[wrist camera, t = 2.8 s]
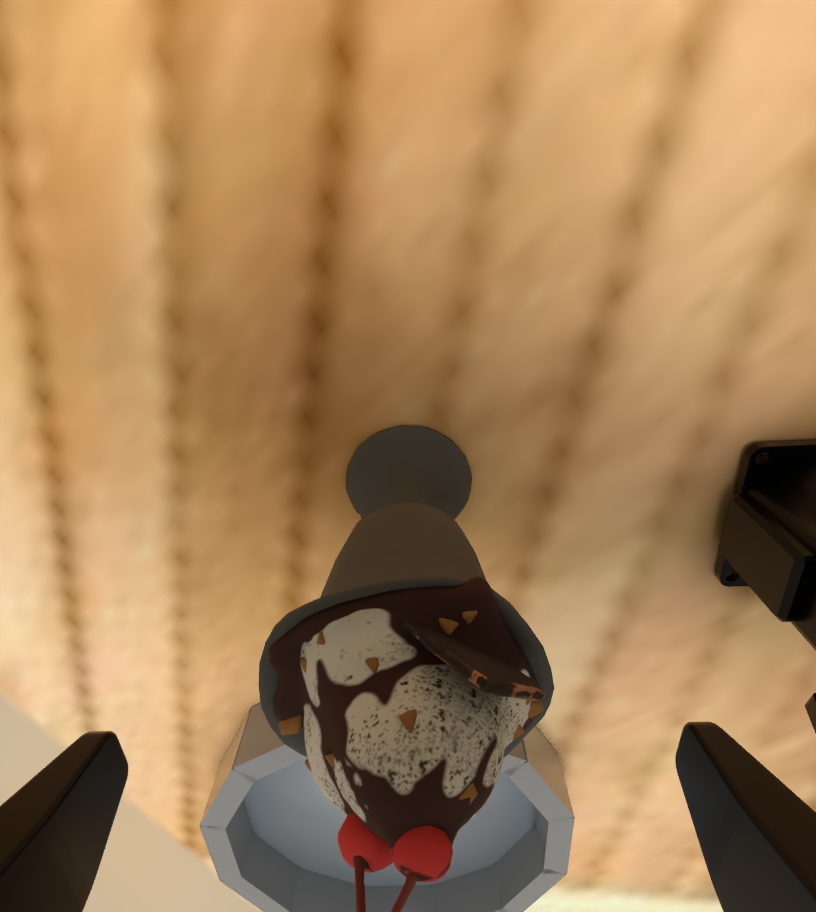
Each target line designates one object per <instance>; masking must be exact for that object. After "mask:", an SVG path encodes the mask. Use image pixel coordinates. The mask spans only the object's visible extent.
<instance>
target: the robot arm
mask: <svg viewBox="0 0 816 912" xmlns="http://www.w3.org/2000/svg"><path fill="white" fill-rule="evenodd" d="M761 453H764V455H763V457H762V458H760V459H759V460H756V459H757V457H758V456H759V455H760V454H761ZM719 551H720V553H719V558H718V562H717V566H716V570H715V576H716V577H717V579H718V580H719V581H720V582H721V584H723V585H724V586H750V587H751V589H752V590H753V591H754V592H755V593H756V594H757V596H758V597H759V598H760V599H761V600H762V601H763V603H764V604H765V605H766V606H767V607H768V608H769V609H770V611H771V612H772V613H773V614H774V615H775V616H776V617H777V618H778V619H779V620H780V621H782V622H791V623H792V624H793V625H794V626H795V627H796V629H797V630H798V631H799V632H800V633H801V634H802V635H803V636H804V638H805V639H806V640H807V641H808V642H809V643H810V644H811V646H812V647H813V648H814V649H815V650H816V440H798V441H775V442H759V443H754V444H753V445H751V446H749V447H748V448H747V449H746V451H745V453H744V455H743V459H742V464H741V468H740V472H739V476H738V480H737V484H736V488H735V492H734V496H733V498H732V499H731V501H730V504H729V508H728V513H727V517H726V521H725V525H724V529H723V533H722V537H721V541H720V545H719ZM731 572H732V573H731ZM729 573H731V574H730V575H728V574H729ZM805 708H806V710H807V713H808V715H809V718H810V720H811V723H812V725H813V728H814V730H815V733H816V693H814V694H813V695H812V696H811V698H810V699H809V700H808V701H807V703H806V704H805ZM676 769H677V773H678V776H679V779H680V783H681V786H682V789H683V792H684V795H685V798H686V802H687V805H688V808H689V811H690V814H691V818H692V821H693V824H694V827H695V830H696V834H697V837H698V840H699V843H700V846H701V850H702V853H703V856H704V859H705V862H706V865H707V868H708V871H709V874H710V877H711V880H712V883H713V886H714V889H715V891H716V894H717V896H718V899H719V901H720V904H721V906H722V909H723V911H724V912H816V812H815V811H813V810H812V809H811V808H810V807H809V806H808V805H807V804H806V803H804V802H803V801H802V800H801V799H800V798H799V797H798V796H797V795H796V794H794V793H793V792H792V791H791V790H790V789H789V788H788V787H787V786H785V785H784V784H783V783H782V782H781V781H780V780H779V779H778V778H776V777H775V776H774V775H773V774H772V773H771V772H770V771H769V770H767V769H766V768H765V767H764V766H763V765H762V764H761V763H760V762H758V761H757V760H756V759H755V758H754V757H753V756H752V755H751V754H750V753H748V752H747V751H746V750H745V749H744V748H743V747H742V746H741V745H739V744H738V743H737V742H736V741H735V740H734V739H733V738H732V737H730V736H729V735H728V734H727V733H726V732H725V731H724V730H723V729H721V728H720V727H719V726H718V725H716V724H714V723H712V722H688V723H687V724H685V725H684V728H683V731H682V734H681V738H680V742H679V745H678V749H677V752H676ZM127 776H128V763H127V760H126V757H125V755H124V752H123V750H122V748H121V745H120V743H119V740H118V738H117V736H116V734H115V733H113V732H112V731H92V732H88V733H85V734H84V735H82V736H81V737H79V738H78V739H77V740H76V741H75V742H74V743H73V744H71V745H70V746H69V747H68V748H67V749H66V750H64V751H63V752H62V753H61V754H60V755H59V756H58V757H56V758H55V759H54V760H53V761H52V762H51V763H49V764H48V765H47V766H46V767H45V768H44V769H43V770H41V771H40V772H39V773H38V774H37V775H36V776H34V777H33V778H32V779H31V780H30V781H29V782H28V783H26V784H25V785H24V786H23V787H22V788H21V789H20V790H18V791H17V792H16V793H15V794H14V795H13V796H11V797H10V798H9V799H8V800H7V801H6V802H4V803H3V804H2V805H1V806H0V912H82V911H83V909H84V906H85V904H86V901H87V899H88V896H89V894H90V891H91V889H92V886H93V883H94V880H95V877H96V874H97V871H98V868H99V865H100V862H101V859H102V856H103V852H104V849H105V846H106V843H107V840H108V837H109V833H110V830H111V827H112V824H113V821H114V818H115V815H116V812H117V809H118V805H119V802H120V799H121V796H122V793H123V790H124V787H125V784H126V780H127Z"/></svg>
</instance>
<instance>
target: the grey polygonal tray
mask: <svg viewBox="0 0 816 912" xmlns="http://www.w3.org/2000/svg"><path fill="white" fill-rule="evenodd" d="M307 758H308V757H306V756H304V755H301V754H299V753H298V752H296V751H295V750H293V749H291V748H290V747H288V746H287V745H285V744H283V742H282V741H281V740H280V739H279V737H278V736H277V735H276V734H275V732H274V731H273V730H272V729H271V727H270V725H269V723H268V721H267V719H266V717H265V714H264V712H263V710H262V708H261V703H259V704H257V705H255V706H253V707H252V709H250V710H249V712H248V714H247V716H246V718H245V720H244V721H243V723H242V725H241V727H240V729H239V731H238V732H237V734H236V736H235V738H234V740H233V741H232V743H231V745H230V747H229V749H228V751H227V752H226V754H225V756H224V758H223V760H222V761H221V764H220V767H219V770H218V773H217V776H216V779H215V782H214V785H213V788H212V790H211V793H210V796H209V799H208V802H207V805H206V808H205V811H204V814H203V817H202V820H201V823H200V829H201V831H202V834H203V837H204V840H205V842H206V845H207V848H208V850H209V853H210V856H211V858H212V861H213V864H214V866H215V869H216V872H217V875H218V877H219V880H221V882H222V883H224V884H225V885H226V886H228V887H229V888H231V889H232V890H234V891H235V892H236V893H238V894H239V895H241V896H242V897H244V898H245V899H246V900H248V901H249V902H251V903H252V904H254V905H255V906H256V907H258V908H259V909H261V910H262V911H264V912H356V886H355V869H354V868H353V867H351V866H350V865H349V864H348V863H347V862H346V861H345V860H344V859H343V857H342V854H341V851H340V848H339V844H338V832H339V830H340V828H341V826H342V824H343V823H344V821H345V819H346V817H347V815H346V814H345V813H343V812H342V811H341V810H339V809H338V808H337V807H336V806H335V805H334V804H333V803H332V802H331V801H330V800H329V799H328V798H327V797H326V796H324V794H323V793H322V791H321V789H320V788H319V786H318V784H317V782H316V780H315V778H314V776H313V773H312V772H311V771H310V770H309V769H308V768H307V766H306V764H305V761H306V760H307ZM573 825H574V814H573V810H572V807H571V803H570V799H569V795H568V791H567V787H566V783H565V780H564V776H563V772H562V768H561V764H560V760H559V756H558V753H557V752H556V751H555V749H554V748H553V747H552V746H551V744H550V743H549V742H548V741H547V739H546V738H545V737H544V736H543V734H542V733H541V732H540V731H539V729H538V728H537V727H536V726H535V727H534V728H533V729H532V730H531V731H530V732H529V733H528V734H527V735H526V736H525V737H524V738H523V740H522V741H521V742H520V743H519V744H518V745H517V746H516V747H515V748H514V749H513V750H512V751H511V752H510V753H509V754H508V755H507V756H506V757H504V758H503V762H502V767H501V771H500V774H499V776H498V779H497V782H496V784H495V787H494V789H493V792H492V795H491V797H490V799H489V801H488V802H487V803H486V804H485V806H484V807H483V808H482V809H481V810H480V812H479V813H478V814H476V815H475V816H474V817H473V818H472V819H471V820H470V821H469V822H467V823H466V824H465V825H464V826H462V827H461V828H460V829H459V831H458V832H457V835H456V837H455V839H454V841H453V845H452V849H453V855H452V860H451V865H450V868H449V870H448V871H447V873H446V874H445V876H443V877H442V878H440V879H439V880H437V881H433V882H416V884H415V886H414V888H413V890H412V892H411V893H410V895H409V897H408V899H407V900H406V902H405V904H404V906H403V908H402V910H401V912H524V911H525V910H526V909H527V908H528V907H529V906H531V905H532V904H533V903H534V902H535V901H536V900H538V899H539V898H540V897H541V896H542V895H543V894H544V893H546V892H547V891H548V890H549V889H550V888H551V887H553V886H554V885H555V884H556V883H557V882H558V881H559V880H561V879H562V878H563V877H564V876H565V875H566V873H567V869H568V862H569V854H570V847H571V840H572V832H573ZM406 878H407V877H405V876H404V875H403V874H402V873H400V872H399V871H398V870H397V869H396V867H395V865H394V862H393V863H392V864H391V865H389V866H387V867H386V868H384V869H382V870H379V871H376V872H372V873H366V872H364V884H365V901H366V912H391V911H392V909H393V906H394V904H395V902H396V900H397V898H398V896H399V894H400V892H401V890H402V888H403V886H404V884H405V881H406Z"/></svg>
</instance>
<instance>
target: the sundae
mask: <svg viewBox="0 0 816 912" xmlns="http://www.w3.org/2000/svg"><path fill="white" fill-rule="evenodd" d="M471 480H472V477H471V472H470V468H469V465H468V462H467V459H466V457H465V455H464V454H463V453H462V451H461V450H460V449H459V447H458V446H457V445H456V444H455V443H454V442H453V441H452V440H451V439H449V438H447V437H446V436H444V435H442V434H441V433H439V432H436V431H434V430H431V429H429V428H425V427H418V426H398V427H393V428H389V429H386V430H383V431H380V432H378V433H376V434H375V435H373V436H372V437H370V438H369V439H367V440H366V441H365V442H364V443H363V444H361V445H360V446H359V447H358V449H357V450H356V452H355V453H354V455H353V457H352V459H351V461H350V463H349V465H348V468H347V476H346V489H347V492H348V495H349V498H350V500H351V502H352V504H353V507H354V509H355V510H356V511H357V512H358V513H359V514H360V515H361V517H362V519H361V520H360V521H359V522H358V523H357V524H356V526H355V527H354V529H353V531H352V533H351V534H350V536H349V538H348V539H347V541H346V543H345V545H344V546H343V548H342V550H341V552H340V553H339V555H338V557H337V558H336V560H335V563H334V565H333V568H332V570H331V573H330V575H329V578H328V580H327V582H326V585H325V587H324V590H323V592H322V595H321V597H320V598H319V599H316V600H314V601H312V602H309V603H307V604H305V605H303V606H301V607H299V608H297V609H295V610H293V611H291V612H289V613H288V614H287V615H286V616H285V617H284V618H283V619H281V620H280V621H279V622H278V623H277V624H276V625H275V627H274V628H273V630H272V632H271V634H270V636H269V637H268V639H267V641H266V643H265V646H264V650H263V653H262V657H261V660H260V666H259V691H260V701H261V708H262V710H263V712H264V714H265V717H266V719H267V721H268V723H269V725H270V727H271V729H272V730H273V731H274V732H275V734H276V735H277V736H278V737H279V739H280V740H281V741H282V742H283V744H285V745H287V746H288V747H290V748H291V749H293V750H295V751H296V752H298V753H299V754H301V755H304V756H306V757H308V758H307V760H306V761H305V764H306V766H307V768H308V769H309V770H310V771H311V772H312V773H313V776H314V778H315V780H316V782H317V784H318V786H319V788H320V789H321V791H322V793H323V794H324V796H326V797H327V798H328V799H329V800H330V801H331V802H332V803H333V804H334V805H335V806H336V807H337V808H338V809H339V810H341V811H342V812H343V813H345V814H346V815H347V817H346V819H345V821H344V823H343V824H342V826H341V828H340V830H339V832H338V844H339V848H340V851H341V854H342V857H343V859H344V860H345V861H346V862H347V863H348V864H349V865H350V866H351V867H353V868H354V869H355V886H356V912H366V901H365V884H364V872H366V873H372V872H376V871H379V870H382V869H384V868H386V867H387V866H389V865H391V864H392V863H393V862H394V865H395V867H396V869H397V870H398V871H399V872H400V873H402V874H403V875H404V876H405V877H407V878H406V881H405V884H404V886H403V888H402V890H401V892H400V894H399V896H398V898H397V900H396V902H395V904H394V906H393V909H392V911H391V912H401V910H402V908H403V906H404V904H405V902H406V900H407V899H408V897H409V895H410V893H411V892H412V890H413V888H414V886H415V884H416V882H433V881H437V880H439V879H440V878H442V877H443V876H445V874H446V873H447V871H448V870H449V868H450V865H451V860H452V855H453V849H452V845H453V841H454V839H455V837H456V835H457V832H458V831H459V829H460V828H461V827H462V826H464V825H465V824H466V823H467V822H469V821H470V820H471V819H472V818H473V817H474V816H475V815H476V814H478V813H479V812H480V810H481V809H482V808H483V807H484V806H485V804H486V803H487V802H488V801H489V799H490V797H491V795H492V792H493V789H494V787H495V784H496V782H497V779H498V776H499V774H500V771H501V767H502V762H503V758H504V757H506V756H507V755H508V754H509V753H510V752H511V751H512V750H513V749H514V748H515V747H516V746H517V745H518V744H519V743H520V742H521V741H522V740H523V738H524V737H525V736H526V735H527V734H528V733H529V732H530V731H531V730H532V729H533V728H534V727H535V726H536V724H537V723H538V722H539V721H540V720H541V719H542V718H543V717H544V715H545V713H546V711H547V709H548V707H549V705H550V702H551V698H552V694H553V690H554V684H553V678H552V672H551V668H550V665H549V662H548V659H547V656H546V653H545V651H544V648H543V646H542V644H541V643H540V641H539V640H538V638H537V637H536V636H535V634H534V633H533V631H532V630H531V628H530V627H529V625H528V624H527V623H526V622H525V620H524V619H523V618H522V617H521V616H520V614H519V613H518V612H517V611H516V610H515V608H514V607H513V606H512V605H511V604H510V603H509V602H508V601H507V600H505V599H504V598H503V597H502V596H500V595H499V594H498V593H497V592H495V591H494V590H493V589H491V587H490V585H489V584H488V583H487V581H486V579H485V576H484V573H483V571H482V568H481V566H480V563H479V561H478V558H477V556H476V553H475V551H474V550H473V548H472V546H471V545H470V543H469V541H468V539H467V538H466V536H465V534H464V533H463V531H462V530H461V528H460V527H459V526H458V524H457V523H456V522H455V521H454V519H455V518H456V517H457V516H458V514H459V513H460V512H461V510H462V509H463V507H464V506H465V504H466V502H467V501H468V498H469V494H470V490H471Z"/></svg>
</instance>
